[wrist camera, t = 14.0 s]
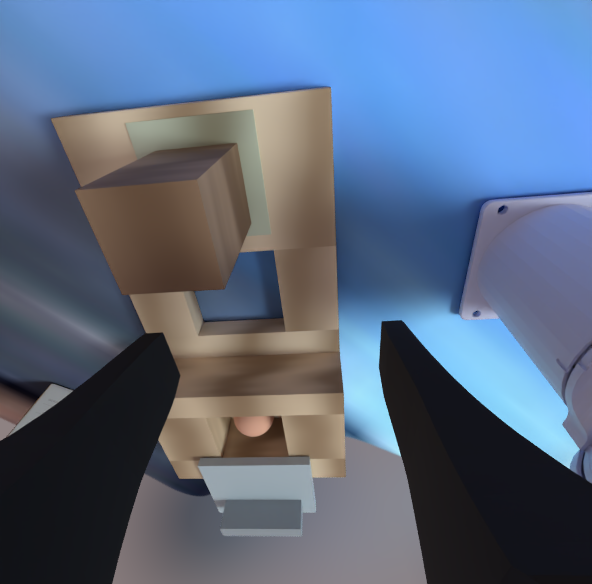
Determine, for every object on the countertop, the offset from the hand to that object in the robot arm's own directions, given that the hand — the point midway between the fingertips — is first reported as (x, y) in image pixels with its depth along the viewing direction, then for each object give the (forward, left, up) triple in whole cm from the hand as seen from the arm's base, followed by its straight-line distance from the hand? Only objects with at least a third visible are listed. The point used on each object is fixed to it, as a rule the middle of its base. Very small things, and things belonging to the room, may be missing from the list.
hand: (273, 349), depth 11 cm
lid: (+4, +18, -5) cm, 20 cm away
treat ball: (+4, +13, -9) cm, 16 cm away
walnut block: (+4, -3, -9) cm, 10 cm away
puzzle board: (+4, +6, -10) cm, 12 cm away
